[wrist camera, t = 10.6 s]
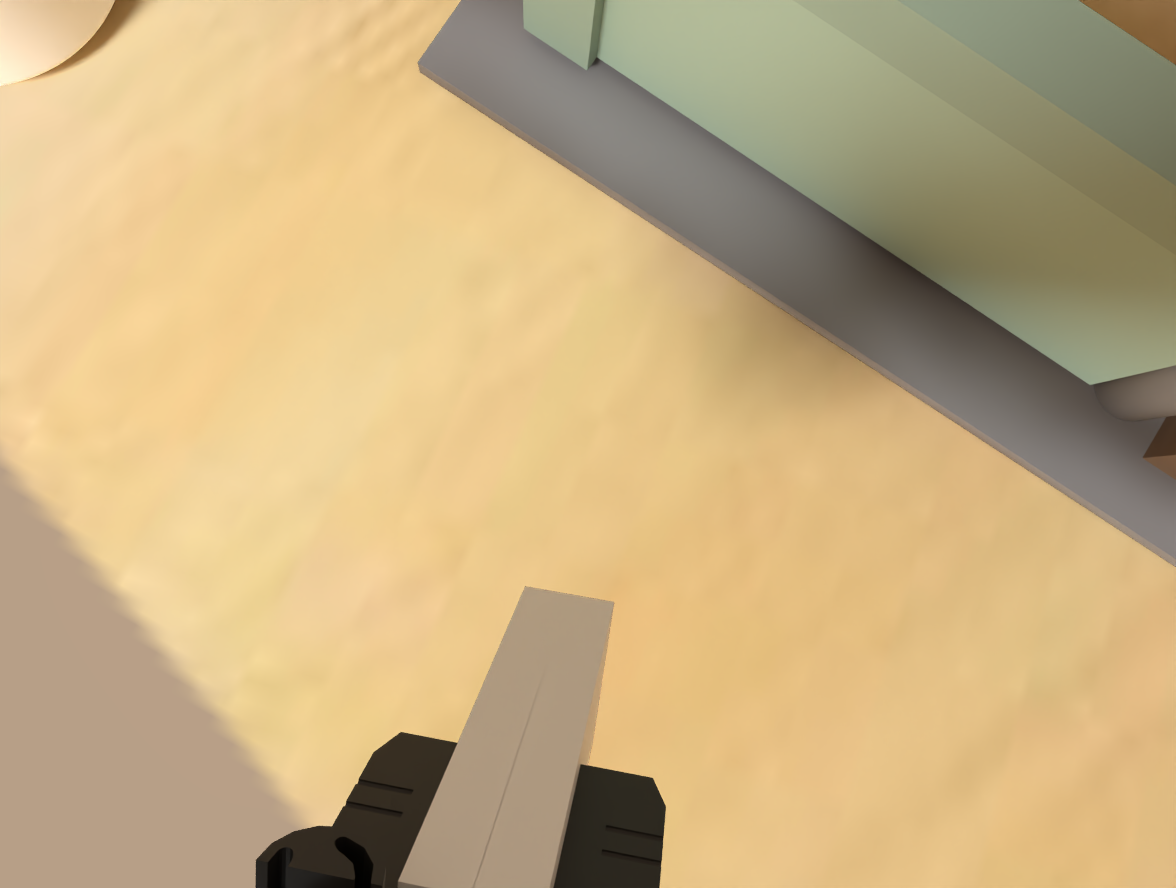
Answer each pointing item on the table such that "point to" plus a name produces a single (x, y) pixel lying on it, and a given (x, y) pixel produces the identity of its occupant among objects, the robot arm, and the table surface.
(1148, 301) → the gate
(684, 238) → the gate frame
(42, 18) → the white cylinder
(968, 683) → the table surface
